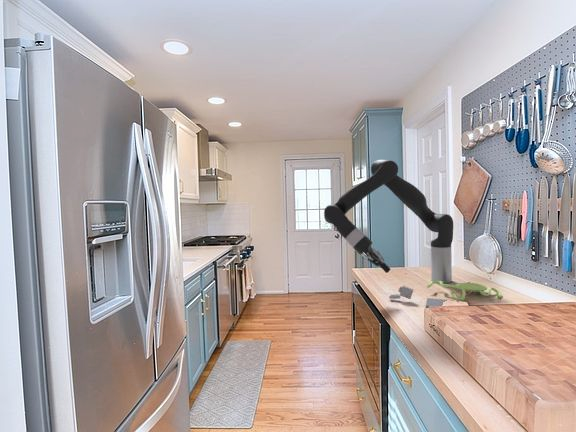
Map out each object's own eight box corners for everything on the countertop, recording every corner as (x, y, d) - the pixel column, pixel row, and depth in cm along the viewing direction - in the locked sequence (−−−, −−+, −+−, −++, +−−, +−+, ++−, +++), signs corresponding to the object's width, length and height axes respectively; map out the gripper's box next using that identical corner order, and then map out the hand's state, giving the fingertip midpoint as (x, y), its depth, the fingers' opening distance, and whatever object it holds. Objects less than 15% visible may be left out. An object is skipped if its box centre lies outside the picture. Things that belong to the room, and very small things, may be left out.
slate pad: (427, 299, 137) (427, 297, 137) (468, 302, 131) (468, 301, 131) (425, 307, 127) (425, 305, 127) (470, 311, 121) (470, 310, 121)
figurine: (422, 292, 149) (422, 280, 148) (474, 287, 154) (474, 275, 154) (450, 305, 131) (449, 290, 130) (508, 298, 136) (508, 284, 135)
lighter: (413, 289, 135) (394, 281, 138) (413, 290, 133) (393, 282, 136) (408, 304, 136) (388, 297, 139) (407, 306, 135) (388, 298, 138)
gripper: (361, 236, 135) (392, 268, 131) (368, 233, 147) (397, 262, 142) (348, 249, 138) (379, 280, 133) (356, 244, 150) (385, 273, 145)
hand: (388, 271), depth 138 cm, fingers closed
